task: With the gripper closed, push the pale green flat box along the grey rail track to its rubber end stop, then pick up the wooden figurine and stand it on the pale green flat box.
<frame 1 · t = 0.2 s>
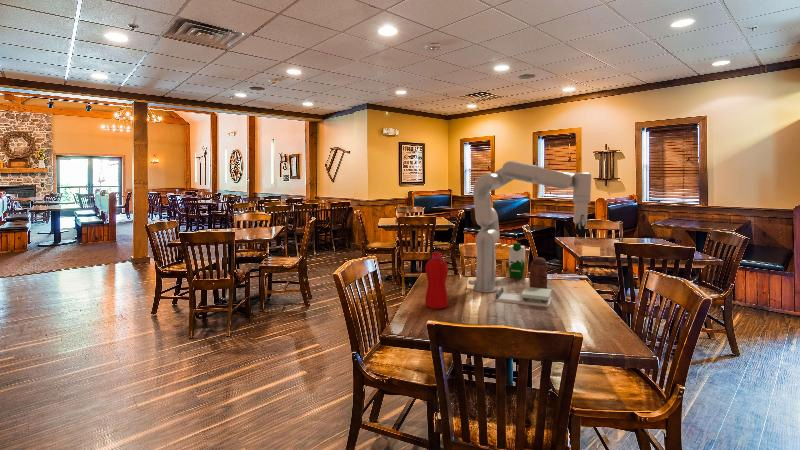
hand: (580, 235, 209), 31 cm above the table, tool pointing down, fingers open, 9 cm apart
pale green flat box: (536, 295, 209), point 3 cm above the table, slide at 0.0 cm
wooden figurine: (538, 292, 225), on the table
milk carton: (516, 277, 259), on the table
rail track: (523, 300, 212), on the table
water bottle: (437, 307, 202), on the table
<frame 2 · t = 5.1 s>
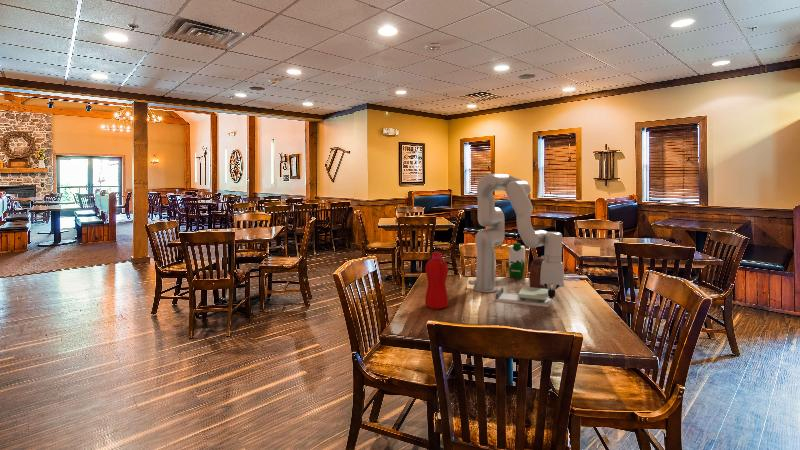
hand: (551, 297, 207), 3 cm above the table, tool pointing down, fingers closed
pale green flat box: (533, 294, 210), point 3 cm above the table, slide at 1.4 cm, touching gripper
everything else where it was.
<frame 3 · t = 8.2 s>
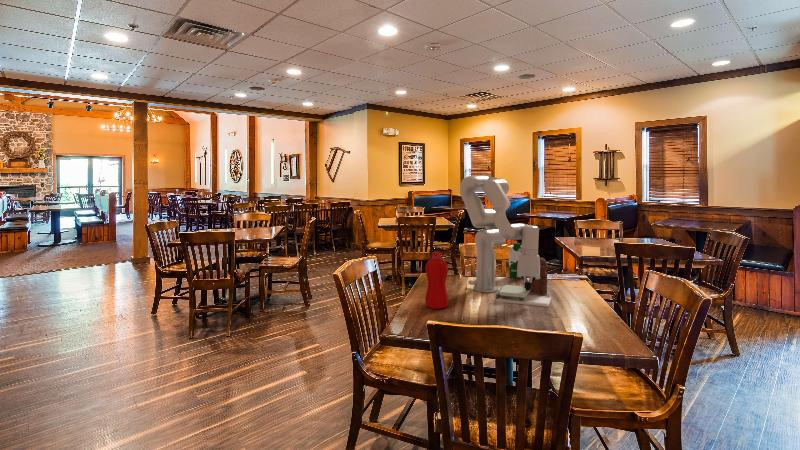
hand: (527, 290, 211), 5 cm above the table, tool pointing down, fingers closed
pale green flat box: (514, 292, 213), point 3 cm above the table, slide at 10.0 cm
everything else where it was.
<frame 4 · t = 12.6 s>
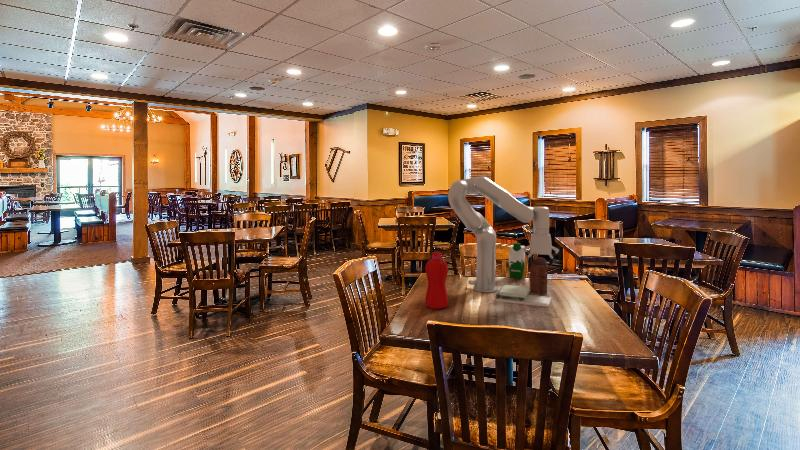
hand: (540, 265, 224), 14 cm above the table, tool pointing down, fingers open, 9 cm apart
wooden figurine: (538, 292, 225), on the table, touching gripper
everything else where it was.
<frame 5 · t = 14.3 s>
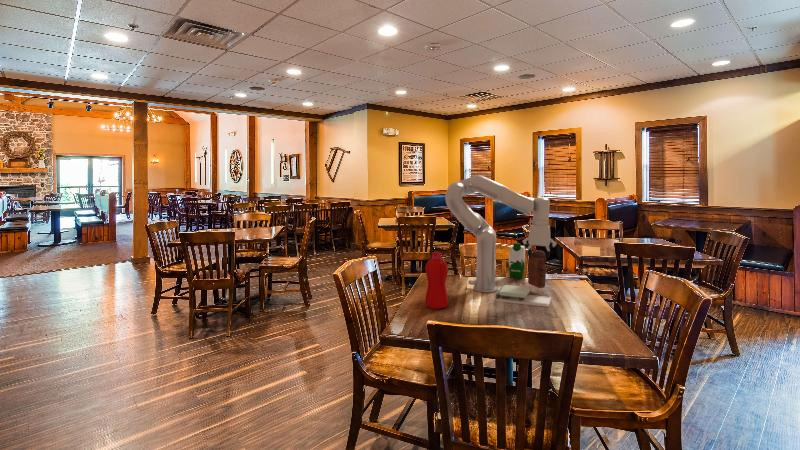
hand: (538, 257, 223), 18 cm above the table, tool pointing down, fingers closed on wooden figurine, 7 cm apart
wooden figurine: (536, 285, 225), point 3 cm above the table, touching gripper
everything else where it was.
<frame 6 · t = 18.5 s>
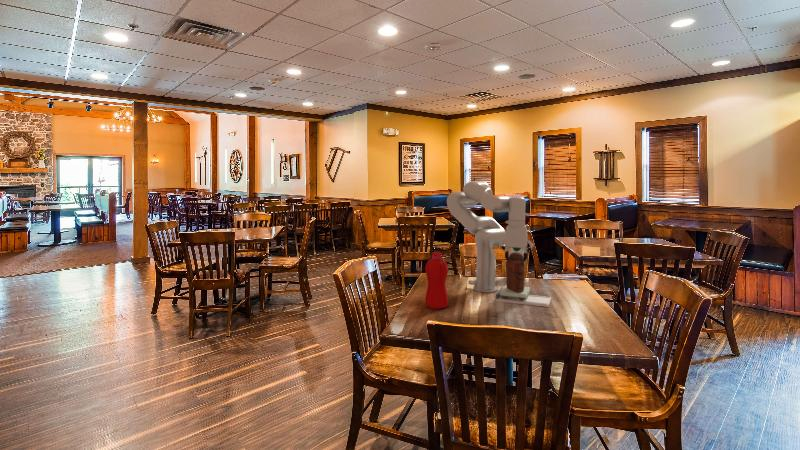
hand: (515, 260, 211), 19 cm above the table, tool pointing down, fingers closed on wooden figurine, 7 cm apart
pale green flat box: (515, 292, 213), point 3 cm above the table, slide at 9.8 cm, touching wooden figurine
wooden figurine: (515, 289, 213), point 5 cm above the table, touching pale green flat box, gripper
everything else where it was.
when the fingers open (19 cm above the table, at t = 18.7 s): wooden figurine stays where it is, resting on pale green flat box.
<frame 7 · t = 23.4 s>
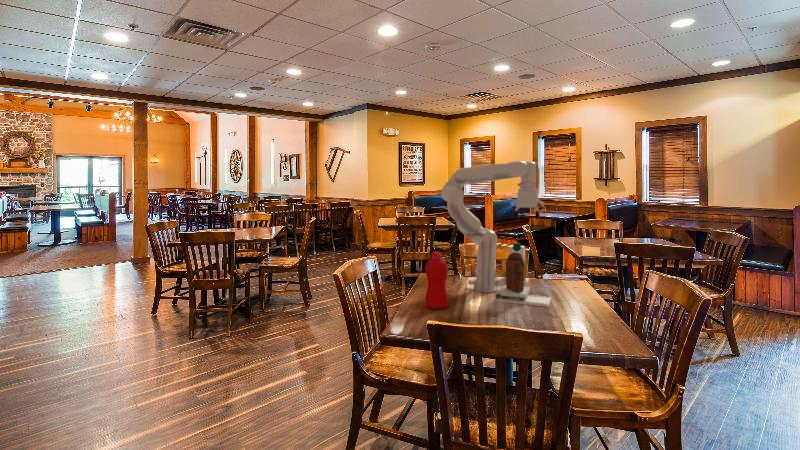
hand: (527, 218, 232), 36 cm above the table, tool pointing down, fingers open, 9 cm apart
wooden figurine: (515, 289, 213), point 5 cm above the table, touching pale green flat box
everything else where it was.
at the end: pale green flat box slide at 10.0 cm; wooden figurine inside the target area (0.1 cm from its centre), point 4.6 cm above the table; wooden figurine tilted 0° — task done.
